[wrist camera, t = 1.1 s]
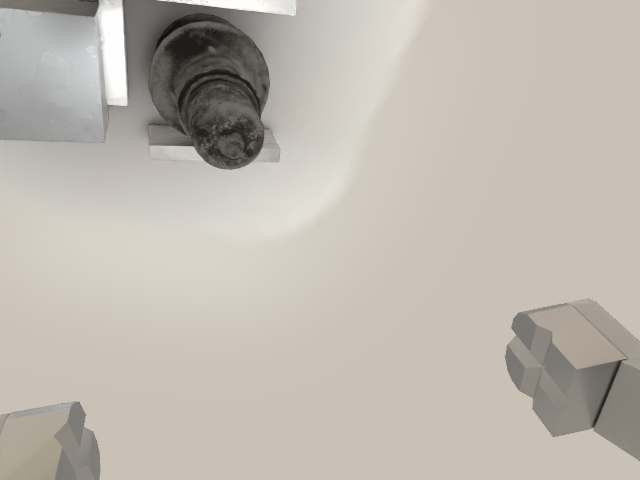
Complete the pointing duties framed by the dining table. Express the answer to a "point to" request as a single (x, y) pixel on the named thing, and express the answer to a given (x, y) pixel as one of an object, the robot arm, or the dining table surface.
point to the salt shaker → (211, 88)
